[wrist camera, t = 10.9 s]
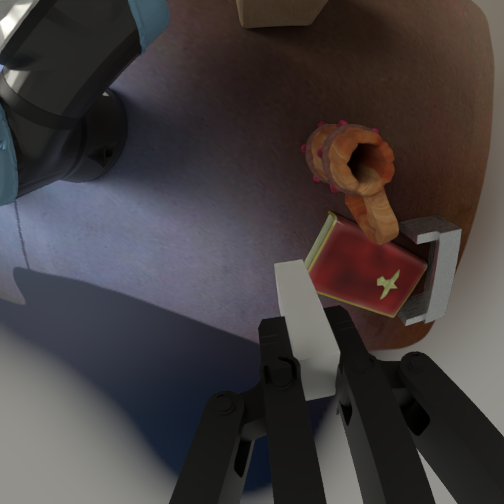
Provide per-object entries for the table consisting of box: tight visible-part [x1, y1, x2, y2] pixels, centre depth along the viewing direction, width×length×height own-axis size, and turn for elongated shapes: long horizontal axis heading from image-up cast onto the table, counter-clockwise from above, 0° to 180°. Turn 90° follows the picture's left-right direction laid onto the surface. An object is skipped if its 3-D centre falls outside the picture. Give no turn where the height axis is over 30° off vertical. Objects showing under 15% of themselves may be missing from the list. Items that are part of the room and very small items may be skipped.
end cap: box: [397, 215, 462, 326], centre depth 41 cm, size 9×18×7 cm, turn 11°
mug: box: [301, 120, 399, 245], centre depth 30 cm, size 15×8×15 cm, turn 24°
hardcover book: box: [304, 211, 428, 318], centre depth 42 cm, size 12×21×4 cm, turn 67°
